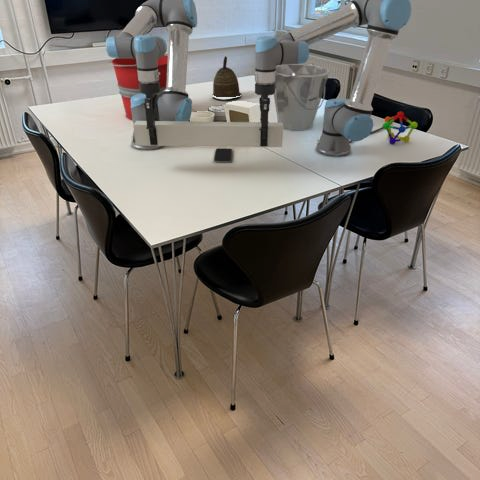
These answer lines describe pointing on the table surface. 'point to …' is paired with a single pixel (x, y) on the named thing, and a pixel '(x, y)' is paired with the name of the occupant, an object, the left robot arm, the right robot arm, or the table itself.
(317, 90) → the bucket
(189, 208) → the table surface
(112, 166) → the table surface
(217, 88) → the bell
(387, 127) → the educational toy
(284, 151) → the table surface
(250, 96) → the table surface
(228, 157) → the smartphone
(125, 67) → the bucket
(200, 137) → the bar
